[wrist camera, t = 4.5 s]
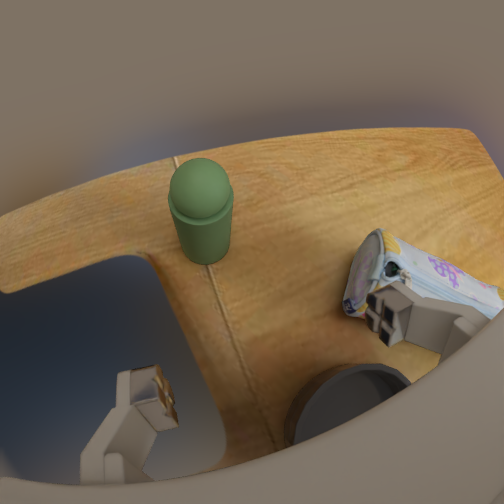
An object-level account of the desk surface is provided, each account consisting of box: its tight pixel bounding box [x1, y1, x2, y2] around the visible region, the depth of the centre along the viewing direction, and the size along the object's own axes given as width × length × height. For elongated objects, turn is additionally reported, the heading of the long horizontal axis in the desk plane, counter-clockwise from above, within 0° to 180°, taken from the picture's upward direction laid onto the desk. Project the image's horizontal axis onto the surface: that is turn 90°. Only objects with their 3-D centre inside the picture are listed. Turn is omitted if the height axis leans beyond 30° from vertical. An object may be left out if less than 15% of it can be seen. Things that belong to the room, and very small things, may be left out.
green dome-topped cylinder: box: [168, 158, 234, 264], centre depth 24 cm, size 5×5×12 cm
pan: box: [284, 364, 411, 448], centre depth 22 cm, size 13×13×4 cm
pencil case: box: [342, 228, 504, 320], centre depth 25 cm, size 21×9×10 cm, turn 70°
